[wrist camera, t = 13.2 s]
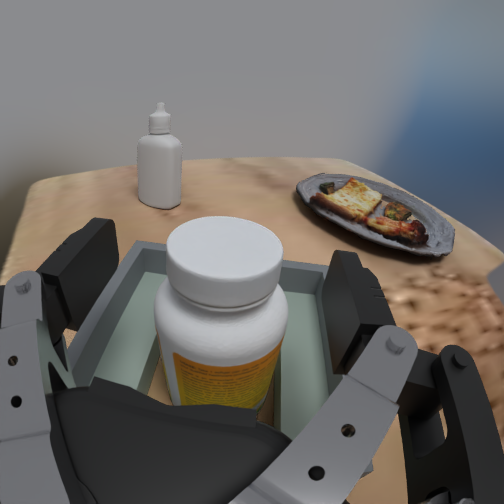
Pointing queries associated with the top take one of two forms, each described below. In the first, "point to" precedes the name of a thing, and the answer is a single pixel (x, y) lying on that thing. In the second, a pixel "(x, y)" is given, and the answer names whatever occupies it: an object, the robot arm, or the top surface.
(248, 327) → the supplement bottle
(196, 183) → the top surface
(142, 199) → the eye dropper bottle
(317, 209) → the food plate
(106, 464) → the robot arm
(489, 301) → the top surface
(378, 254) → the top surface
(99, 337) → the box
